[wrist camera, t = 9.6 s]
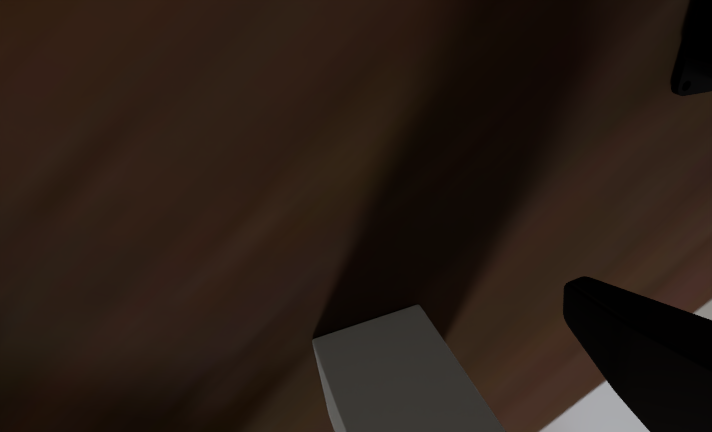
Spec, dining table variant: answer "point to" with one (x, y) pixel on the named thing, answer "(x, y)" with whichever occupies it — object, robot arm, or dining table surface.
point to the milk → (398, 379)
